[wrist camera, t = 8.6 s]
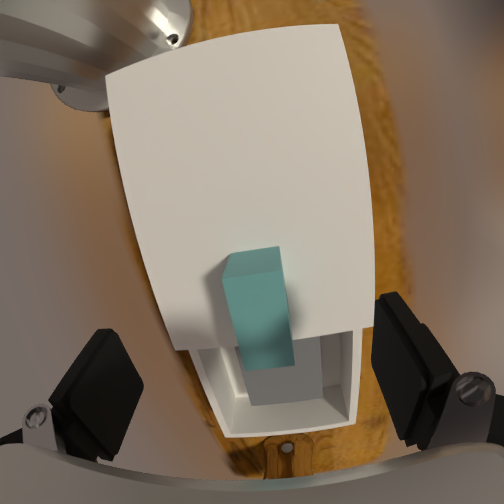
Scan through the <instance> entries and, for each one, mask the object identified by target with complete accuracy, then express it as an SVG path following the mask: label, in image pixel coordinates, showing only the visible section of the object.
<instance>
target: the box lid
mask: <svg viewBox="0 0 504 504" xmlns="http://www.w3.org/2000/svg"><path fill="white" fill-rule="evenodd" d="M105 79H106V88H107V96H108V104H109V111H110V117H111V124H112V130H113V136H114V141H115V147H116V152H117V157H118V162H119V167H120V172H121V177H122V181H123V186H124V190H125V194H126V199H127V203H128V207H129V211H130V215H131V218H132V222H133V226H134V230H135V233H136V237H137V241H138V244H139V247H140V251H141V254H142V258H143V261H144V264H145V267H146V271H147V274H148V277H149V280H150V283H151V286H152V289H153V292H154V295H155V298H156V301H157V304H158V307H159V309H160V312H161V315H162V318H163V320H164V323H165V326H166V328H167V331H168V334H169V336H170V339H171V341H172V344H173V347H174V349H175V350H195V349H211V348H224V347H236V346H239V350H240V353H241V357H242V361H243V365H244V368H245V371H250V370H261V369H270V368H279V367H288V366H295V359H294V348H293V340H296V339H303V338H310V337H317V336H323V335H329V334H335V333H340V332H346V331H351V330H357V329H362V328H367V327H372V326H374V306H375V259H374V233H373V217H372V203H371V192H370V182H369V173H368V165H367V157H366V150H365V143H364V136H363V130H362V124H361V118H360V113H359V108H358V102H357V97H356V93H355V88H354V83H353V79H352V75H351V70H350V66H349V62H348V58H347V54H346V51H345V47H344V43H343V40H342V36H341V33H340V29H339V26H338V24H319V25H302V26H290V27H280V28H272V29H264V30H258V31H251V32H245V33H240V34H235V35H230V36H225V37H220V38H216V39H211V40H207V41H203V42H199V43H196V44H192V45H188V46H185V47H181V48H178V49H175V50H171V51H168V52H165V53H162V54H159V55H156V56H153V57H151V58H148V59H145V60H142V61H140V62H137V63H134V64H132V65H129V66H127V67H124V68H122V69H120V70H117V71H115V72H113V73H110V74H108V75H106V76H105Z"/></svg>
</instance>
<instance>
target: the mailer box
mask: <svg viewBox="0 0 504 504" xmlns="http://www.w3.org/2000/svg"><path fill="white" fill-rule="evenodd" d="M320 348H321V364H322V385H323V398H320V399H313V400H306V401H299V402H290V403H281V404H271V405H259V406H251V403H250V400H249V396H248V393H247V390H246V386H245V383H244V379H243V376H242V372H241V369H240V365H239V362H238V358H237V355H236V351H235V347H224V348H211V349H195V350H189V353H190V356H191V358H192V361H193V363H194V366H195V369H196V371H197V374H198V376H199V378H200V381H201V383H202V386H203V388H204V391H205V393H206V395H207V398H208V400H209V402H210V405H211V407H212V409H213V412H214V414H215V416H216V418H217V420H218V423H219V425H220V427H221V429H222V431H223V433H224V436H225V437H256V436H272V435H284V434H294V433H302V432H310V431H317V430H324V429H330V428H336V427H341V426H347V425H352V424H355V423H356V415H357V405H358V395H359V383H360V369H361V350H362V329H357V330H351V331H346V332H340V333H335V334H329V335H323V336H320Z"/></svg>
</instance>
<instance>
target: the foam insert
mask: <svg viewBox="0 0 504 504" xmlns="http://www.w3.org/2000/svg"><path fill="white" fill-rule="evenodd" d="M293 348H294V359H295V366H288V367H279V368H270V369H261V370H250V371H245V368H244V365H243V361H242V357H241V353H240V350H239V346H236V347H235V351H236V355H237V358H238V362H239V365H240V369H241V372H242V376H243V379H244V383H245V386H246V390H247V393H248V396H249V400H250V403H251V406H259V405H271V404H281V403H290V402H299V401H306V400H313V399H320V398H323V385H322V364H321V348H320V336H317V337H310V338H303V339H296V340H293Z"/></svg>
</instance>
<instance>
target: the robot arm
mask: <svg viewBox="0 0 504 504" xmlns="http://www.w3.org/2000/svg"><path fill="white" fill-rule="evenodd" d="M192 25H193V7H192V4H191V1H190V0H0V76H3V77H12V78H19V79H26V80H33V81H39V82H45V83H50V84H51V87H52V89H53V91H54V93H55V94H56V96H57V97H58V98H59V99H60V100H61V101H62V102H63V103H64V104H65V105H67V106H69V107H71V108H73V109H76V110H82V111H87V112H103V111H109V104H108V96H107V88H106V79H105V76H106V75H108V74H110V73H113V72H115V71H117V70H120V69H122V68H124V67H127V66H129V65H132V64H134V63H137V62H140V61H142V60H145V59H148V58H151V57H153V56H156V55H159V54H162V53H165V52H168V51H171V50H175V49H178V48H181V47H185V46H186V45H187V42H188V40H189V37H190V35H191V30H192ZM177 40H178V41H177ZM175 41H177V43H175V44H173V43H174V42H175ZM371 364H372V368H373V370H374V373H375V375H376V378H377V380H378V383H379V386H380V388H381V391H382V393H383V396H384V399H385V401H386V404H387V407H388V410H389V412H390V415H391V418H392V421H393V424H394V426H395V429H396V432H397V435H398V438H399V439H400V440H405V443H406V446H407V447H408V446H411V445H414V444H417V447H418V449H420V450H421V451H420V452H416V453H413V454H409V455H406V456H402V457H398V458H394V459H390V460H386V461H383V462H379V463H375V464H370V465H366V466H362V467H357V468H352V469H348V470H341V471H336V472H330V473H324V474H317V475H310V476H302V477H293V478H282V479H267V480H203V479H189V478H179V477H170V476H162V475H154V474H148V473H142V472H136V471H131V470H126V469H120V468H116V467H112V466H107V465H103V464H99V463H98V462H97V460H96V459H97V457H98V456H99V457H100V458H101V459H103V460H108V461H113V458H114V456H115V455H116V454H118V452H119V449H120V447H121V444H122V441H123V439H124V436H125V434H126V431H127V429H128V426H129V424H130V421H131V419H132V416H133V413H134V411H135V409H136V406H137V404H138V401H139V399H140V396H141V394H142V391H143V387H144V385H143V381H142V379H141V377H140V376H139V374H138V372H137V370H136V368H135V367H134V365H133V363H132V361H131V359H130V357H129V355H128V353H127V352H126V350H125V348H124V346H123V344H122V342H121V340H120V338H119V335H118V334H117V333H116V332H114V331H113V330H112V329H98V330H97V331H96V332H95V333H94V335H93V336H92V337H91V339H90V340H89V341H88V343H87V344H86V345H85V347H84V348H83V350H82V351H81V353H80V354H79V355H78V357H77V358H76V360H75V361H74V363H73V364H72V365H71V367H70V368H69V369H68V371H67V372H66V374H65V375H64V377H63V378H62V380H61V381H60V383H59V384H58V386H57V387H56V389H55V390H54V392H53V394H52V395H51V396H50V398H49V399H48V401H49V402H50V403H51V404H52V406H53V408H52V409H50V408H49V406H47V405H46V404H38V405H34V406H33V407H31V408H30V409H29V410H28V411H27V412H26V413H25V415H24V417H23V421H22V428H21V429H19V430H17V431H15V432H13V433H10V434H8V435H6V436H4V437H2V438H0V504H504V396H502V395H498V394H496V389H495V386H494V383H493V382H492V380H491V379H490V378H489V377H487V376H486V375H484V374H481V373H479V372H467V373H463V374H462V375H460V374H459V373H458V371H457V369H456V368H455V366H454V365H453V363H452V362H451V360H450V359H449V357H448V356H447V354H446V353H445V351H444V350H443V349H442V347H441V346H440V344H439V343H438V341H437V340H436V338H435V337H434V336H433V334H432V333H431V331H430V330H429V329H428V327H427V326H426V325H425V324H423V323H422V324H420V322H419V321H418V319H417V318H416V317H415V315H414V314H413V312H412V311H411V310H410V308H409V307H408V306H407V304H406V303H405V302H404V300H403V299H402V298H401V296H400V295H399V294H398V293H397V292H396V291H395V292H390V293H385V294H381V295H380V297H379V299H377V300H375V307H374V327H373V341H372V353H371Z"/></svg>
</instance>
